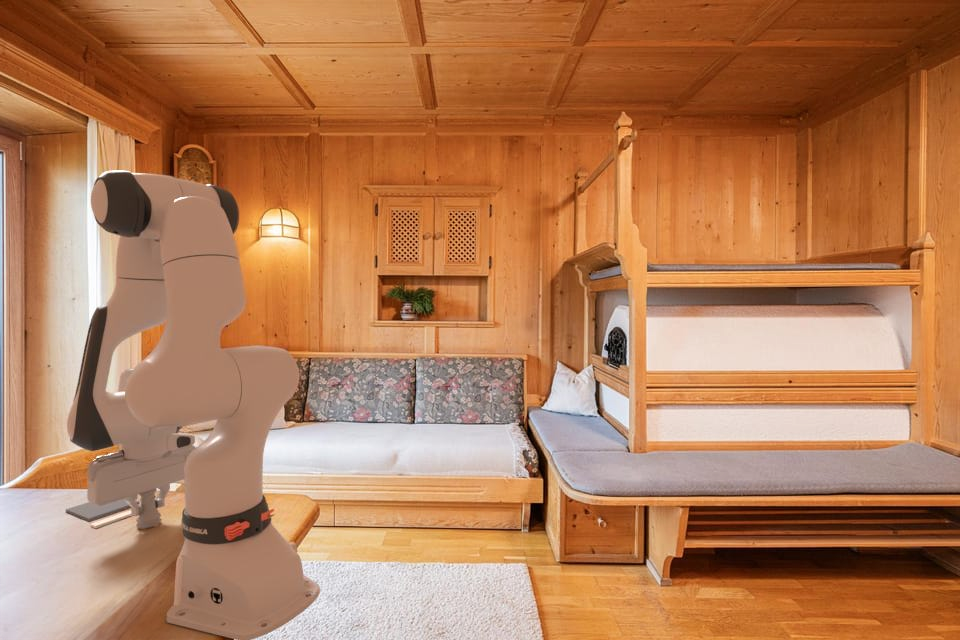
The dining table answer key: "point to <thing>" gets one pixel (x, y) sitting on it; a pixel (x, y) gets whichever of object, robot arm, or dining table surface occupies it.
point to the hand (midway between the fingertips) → (148, 510)
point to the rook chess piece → (148, 511)
